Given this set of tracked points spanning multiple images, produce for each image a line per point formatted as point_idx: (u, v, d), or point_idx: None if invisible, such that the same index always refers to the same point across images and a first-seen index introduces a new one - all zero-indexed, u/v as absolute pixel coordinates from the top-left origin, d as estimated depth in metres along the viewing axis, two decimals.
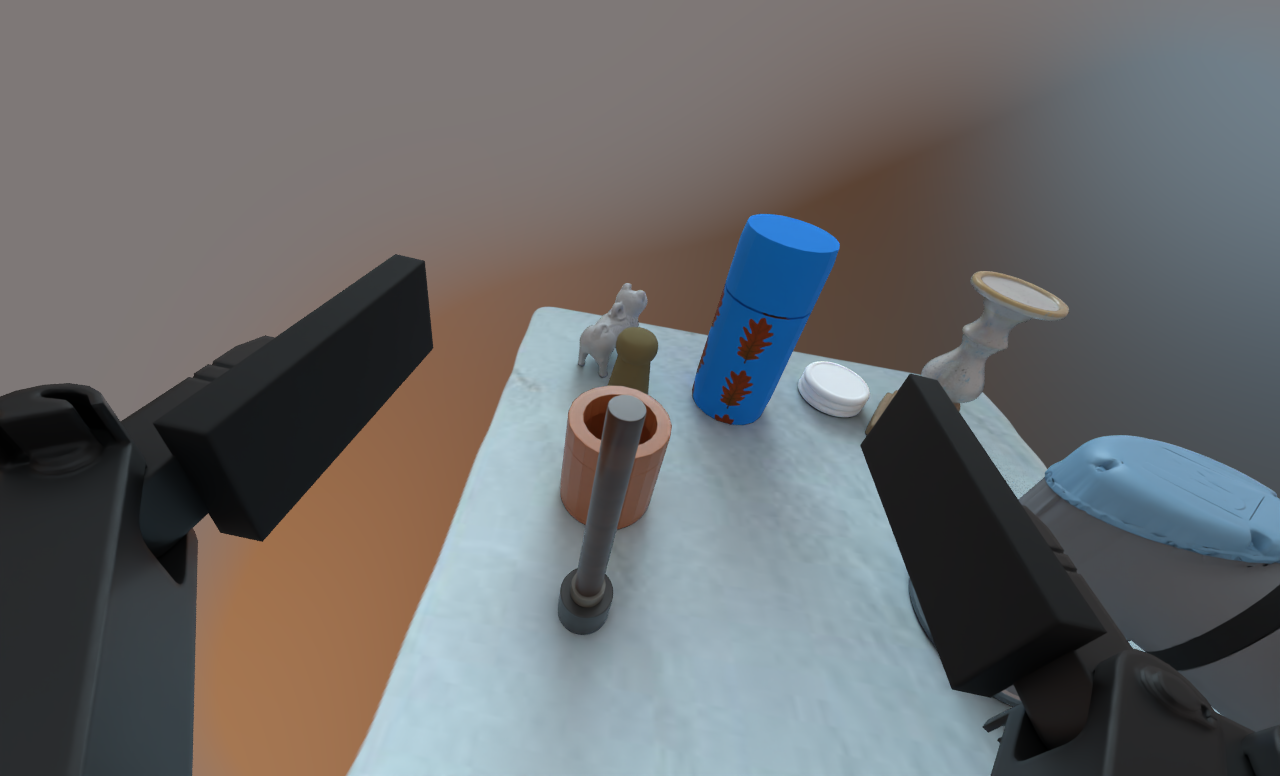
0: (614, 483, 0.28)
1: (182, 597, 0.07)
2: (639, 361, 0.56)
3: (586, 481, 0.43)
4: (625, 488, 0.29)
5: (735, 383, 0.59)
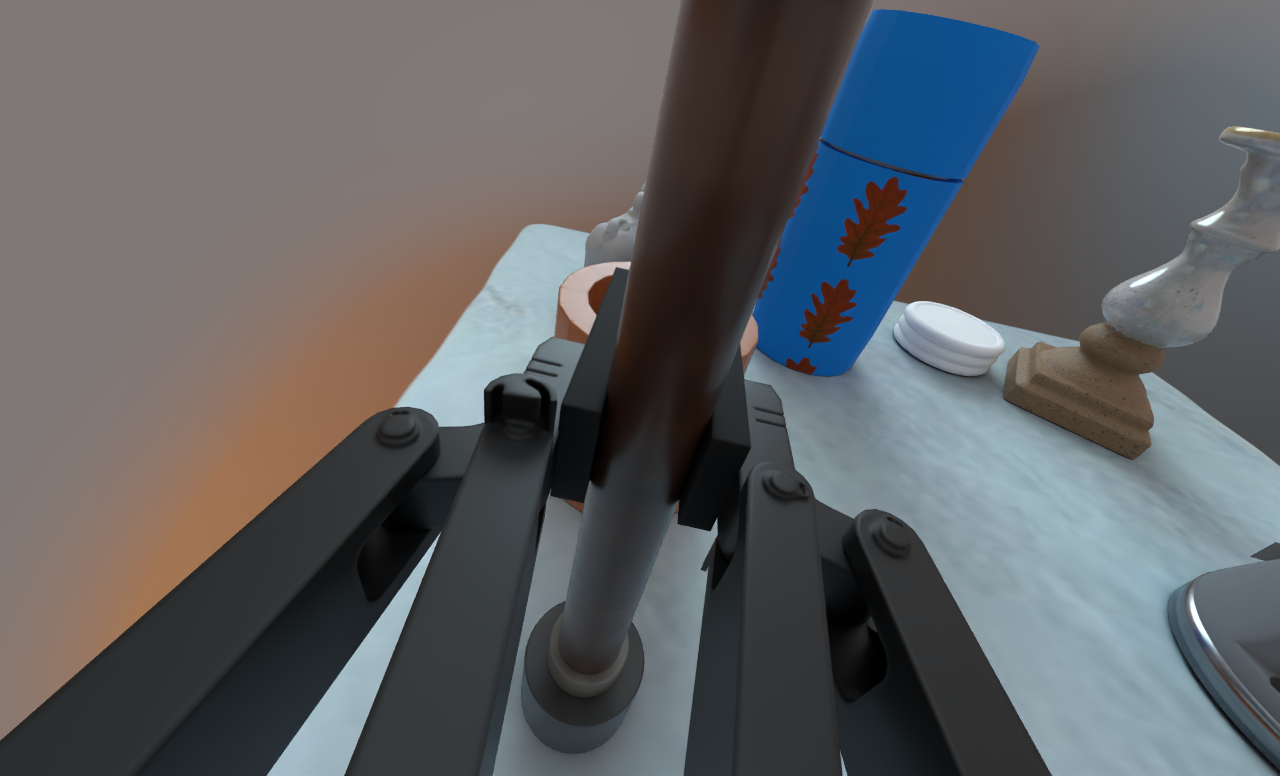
0: (714, 287, 0.07)
1: (532, 563, 0.08)
2: None
3: None
4: (740, 333, 0.08)
5: (828, 303, 0.37)
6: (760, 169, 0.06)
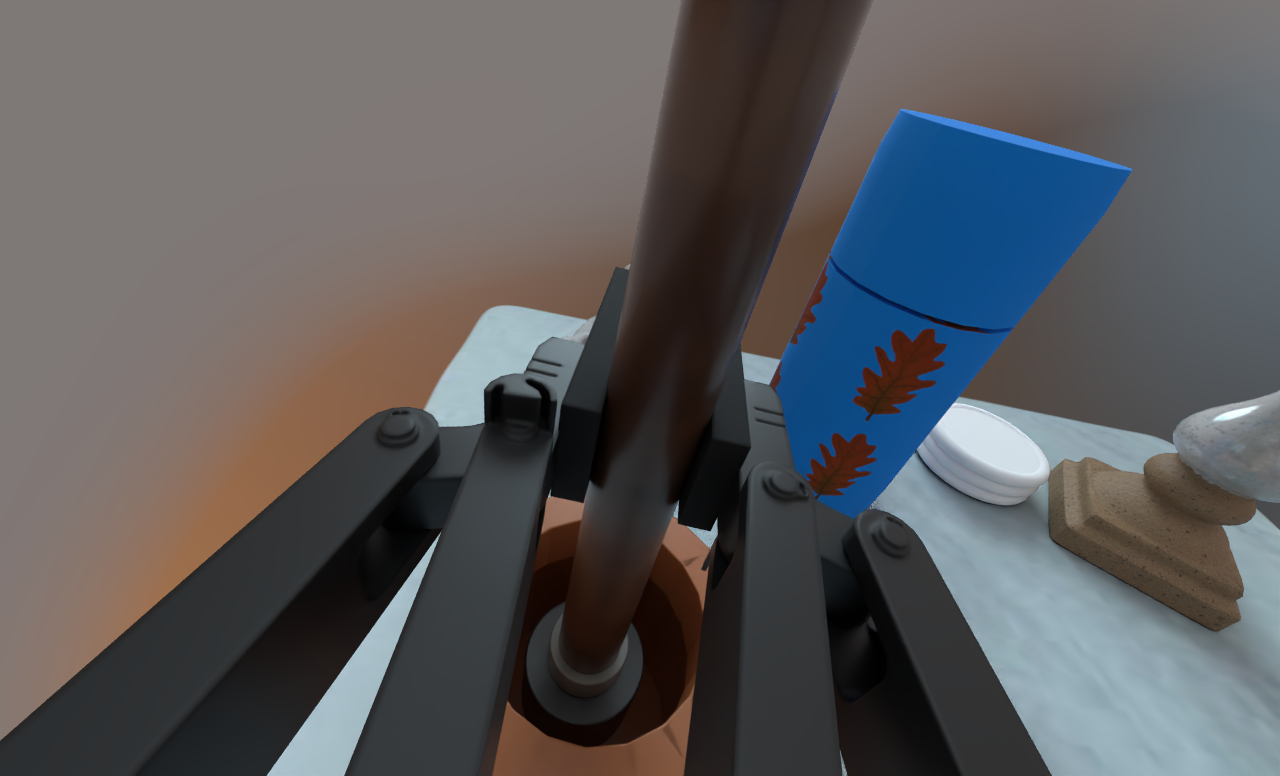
0: (714, 287, 0.07)
1: (533, 563, 0.08)
2: None
3: None
4: (740, 333, 0.08)
5: (840, 456, 0.30)
6: (760, 169, 0.06)
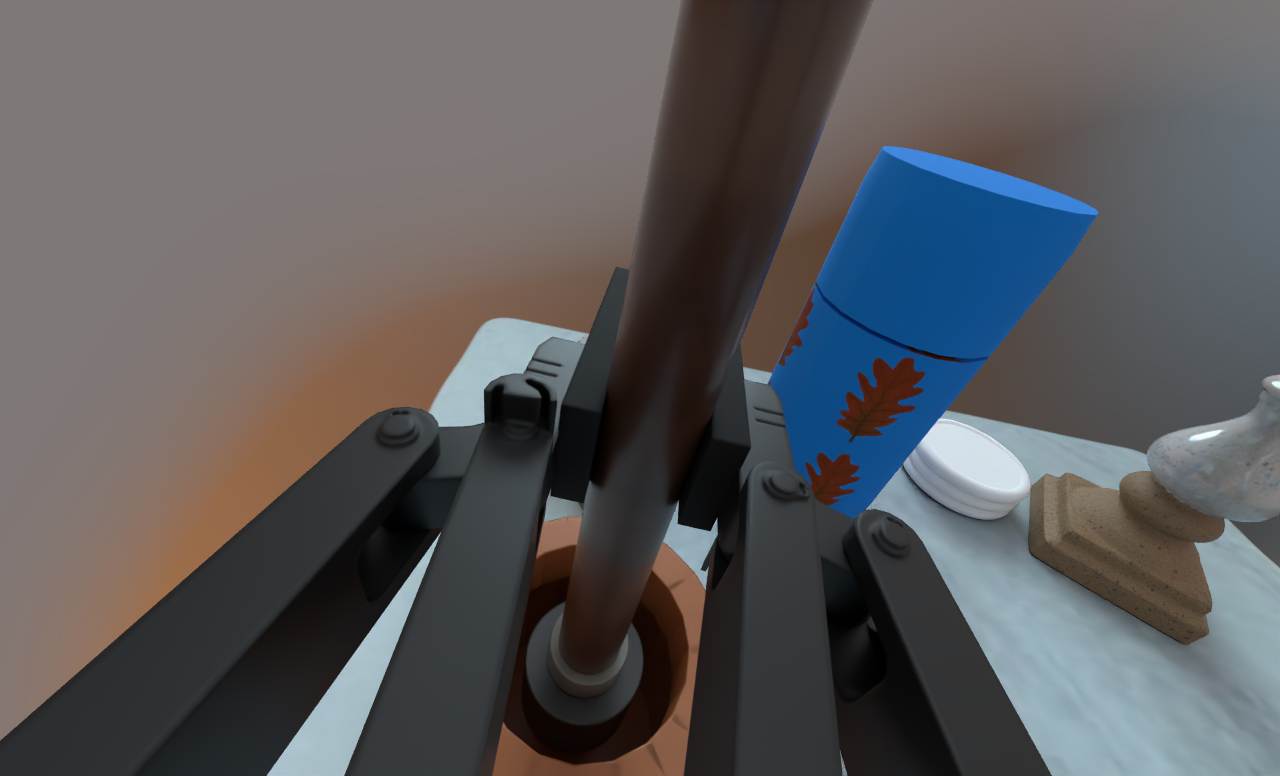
0: (714, 288, 0.07)
1: (533, 563, 0.08)
2: None
3: None
4: (740, 334, 0.08)
5: (825, 475, 0.31)
6: (760, 170, 0.06)
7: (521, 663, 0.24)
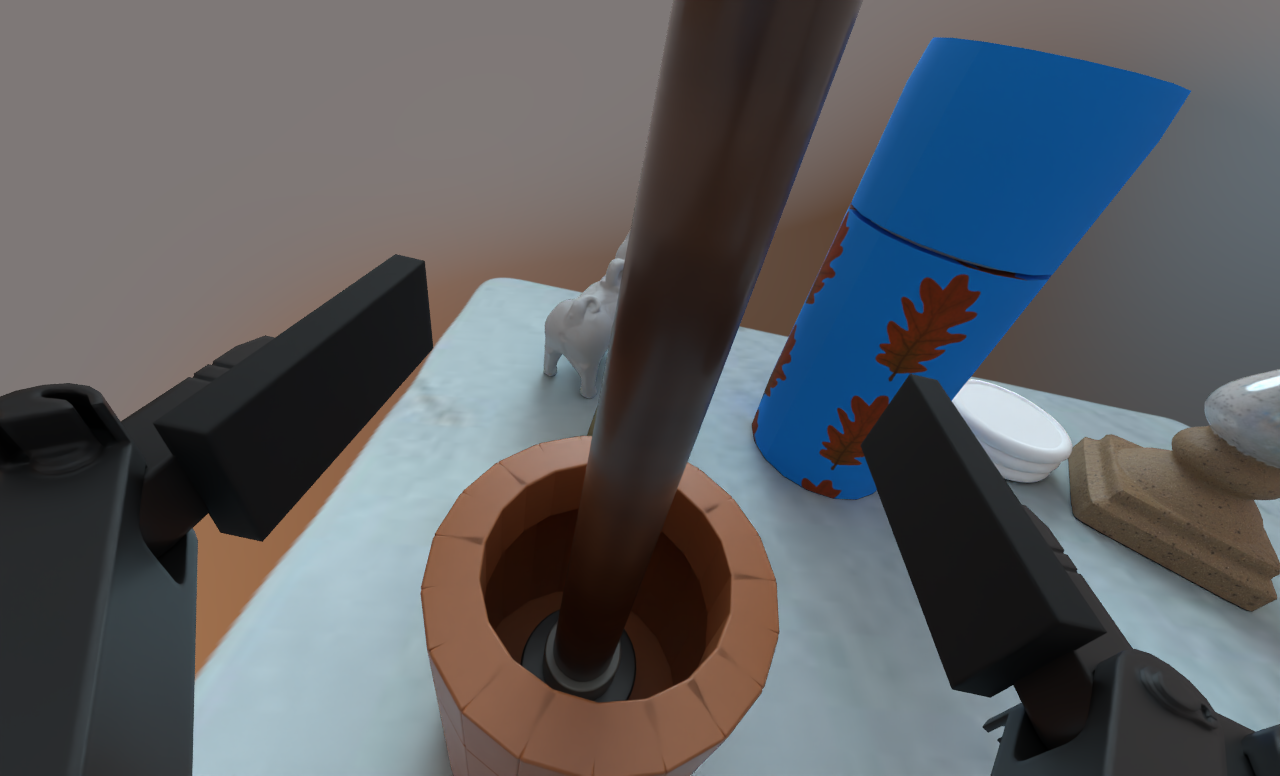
0: (692, 333, 0.07)
1: (182, 597, 0.07)
2: None
3: None
4: (719, 370, 0.08)
5: (860, 421, 0.28)
6: (730, 233, 0.06)
7: (526, 619, 0.21)
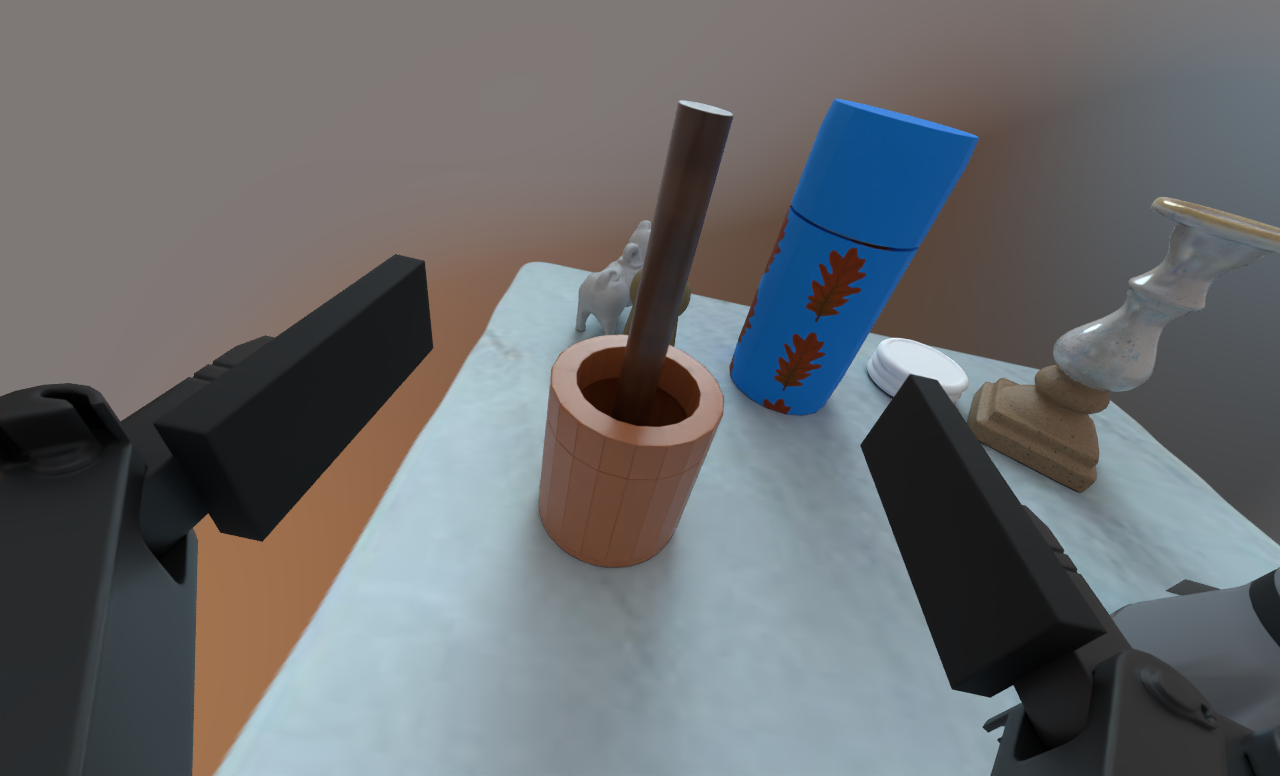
0: (676, 249, 0.20)
1: (182, 597, 0.07)
2: None
3: (578, 486, 0.25)
4: (688, 268, 0.21)
5: (799, 352, 0.41)
6: (689, 212, 0.19)
7: None
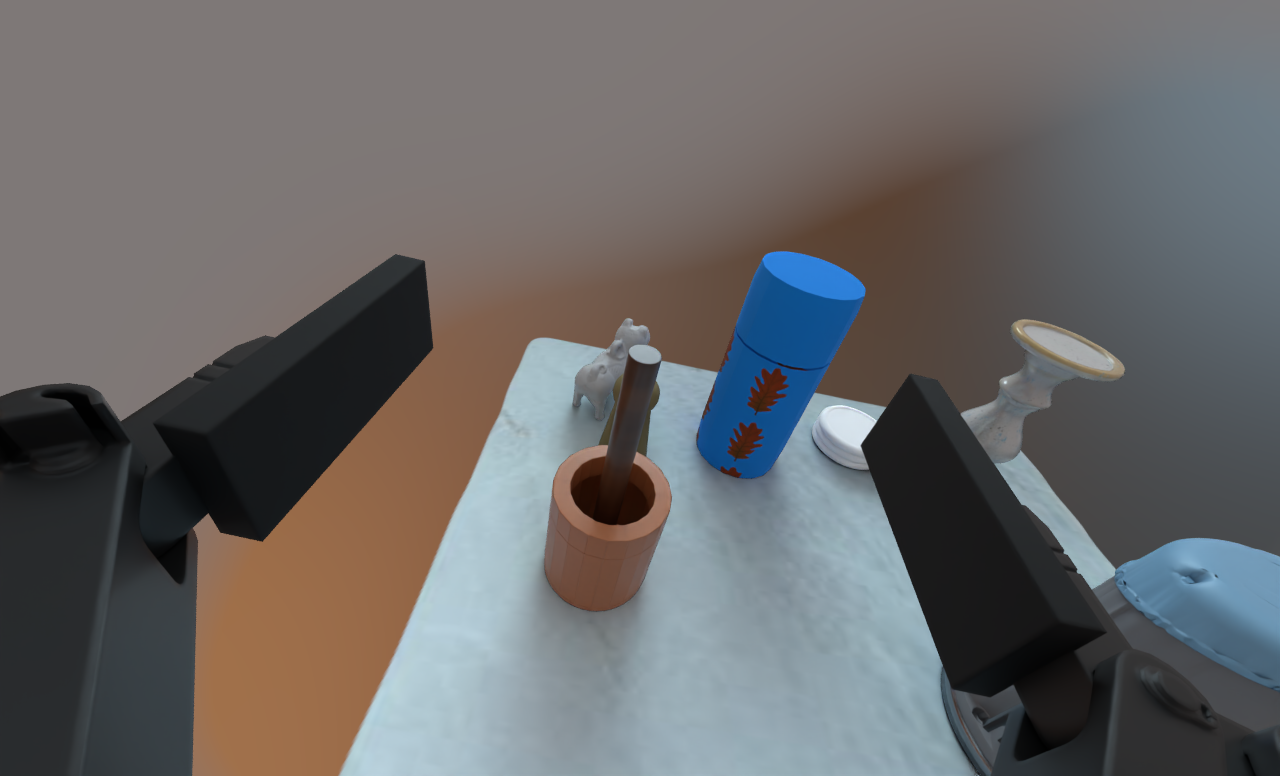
0: (631, 424, 0.32)
1: (180, 598, 0.07)
2: None
3: (571, 561, 0.37)
4: (640, 431, 0.33)
5: (744, 435, 0.53)
6: (637, 407, 0.31)
7: None
